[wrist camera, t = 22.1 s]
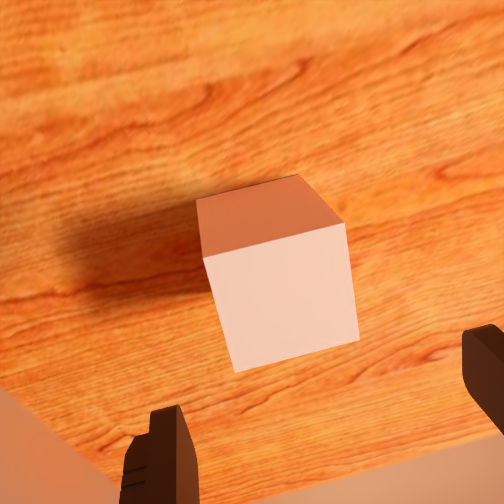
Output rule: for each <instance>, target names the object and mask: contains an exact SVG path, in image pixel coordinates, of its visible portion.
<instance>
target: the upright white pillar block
mask: <svg viewBox="0 0 504 504" xmlns="http://www.w3.org/2000/svg"><path fill="white" fill-rule="evenodd" d="M196 206H197V214H198V222H199V231H200V239H201V247H202V256H203V261H204V264H205V268H206V271H207V275H208V279H209V282H210V286H211V289H212V293H213V296H214V300H215V304H216V307H217V311H218V314H219V318H220V322H221V325H222V329H223V332H224V336H225V339H226V343H227V347H228V350H229V354H230V357H231V361H232V364H233V368H234V372H235V373H236V372H240V371H244V370H248V369H251V368H255V367H259V366H263V365H267V364H270V363H274V362H278V361H282V360H286V359H289V358H293V357H297V356H301V355H305V354H308V353H312V352H316V351H320V350H324V349H327V348H331V347H335V346H339V345H343V344H346V343H350V342H354V341H358V340H360V337H359V330H358V322H357V314H356V307H355V299H354V291H353V283H352V276H351V268H350V260H349V253H348V245H347V237H346V229H345V223H344V221H343V220H342V219H341V218H340V217H339V216H338V215H337V214H336V213H335V212H334V211H333V210H332V209H331V208H330V207H329V206H328V205H327V204H326V202H325V201H324V200H323V199H322V198H321V197H320V196H319V195H318V194H317V193H316V192H315V191H314V190H313V189H312V188H311V187H310V186H309V184H308V183H307V182H306V181H305V180H304V179H303V178H302V177H301V176H300V175H295V176H290V177H286V178H282V179H278V180H274V181H270V182H266V183H262V184H258V185H254V186H249V187H245V188H241V189H237V190H233V191H229V192H225V193H221V194H217V195H213V196H209V197H204V198H200V199H196Z"/></svg>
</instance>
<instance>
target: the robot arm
mask: <svg viewBox="0 0 504 504" xmlns="http://www.w3.org/2000/svg"><path fill="white" fill-rule="evenodd" d="M462 374H463V380H464V383H465V386H466V388H467V390H468V392H469V393H470V395H471V396H472V398H473V399H474V400H475V401H476V402H477V404H478V405H479V406H480V407H481V408H482V410H483V411H484V412H485V413H486V414H487V416H488V417H489V418H490V419H491V420H492V421H493V423H494V424H495V425H496V426H497V427H498V429H499V430H500V431H501V432H502V433H503V435H504V333H503V332H502V331H501V330H500V329H499V328H498V327H497V326H495V325H493V324H488V325H484V326H480V327H477V328H473V329H469V330H465V331H464V332H463V334H462ZM119 504H200V501H199V480H198V464H197V458H196V453H195V448H194V445H193V442H192V439H191V436H190V433H189V430H188V428H187V425H186V422H185V419H184V416H183V413H182V411H181V408H180V406H179V405H174V406H170V407H167V408H163V409H159V410H155V411H152V412H151V414H150V425H149V433H146V434H143V435H139V436H135V437H134V439H133V441H132V443H131V445H130V446H129V448H128V450H127V452H126V454H125V460H124V468H123V476H122V483H121V491H120V499H119Z"/></svg>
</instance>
